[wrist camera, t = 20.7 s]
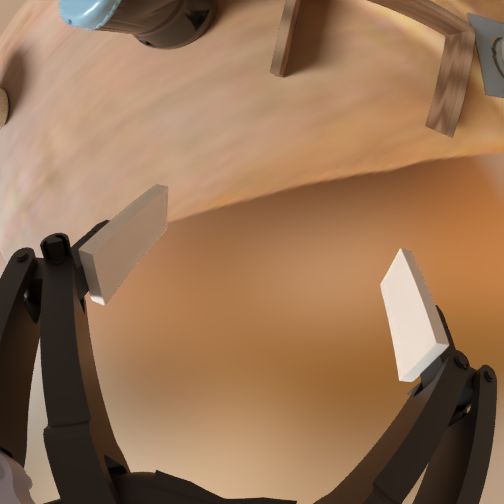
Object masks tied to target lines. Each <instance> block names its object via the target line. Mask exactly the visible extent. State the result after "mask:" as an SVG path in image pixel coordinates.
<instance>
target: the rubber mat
mask: <svg viewBox="0 0 504 504" xmlns="http://www.w3.org/2000/svg"><path fill="white" fill-rule="evenodd" d="M467 16H468V19H469V22H470V25H471V26H472V27H474V28H475V29H476V32H475V43H476V47H477V51H478V55H479V60H480V65H481V70H482V76H483V82H484V89H485V95H489V96H495V97H501V98H504V79H503V78H502V77H501V76H500V74H499V73H498V71H497V70H496V68H495V65H494V63H493V60H492V56H493V53H492V50H491V44H492V41H493V39H494V38H496V37H498V36H502V37H503V36H504V24H503V23H500V22H497V21H494V20H491V19H488V18H485V17H482V16H478V15H474V14H471V13H467Z"/></svg>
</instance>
